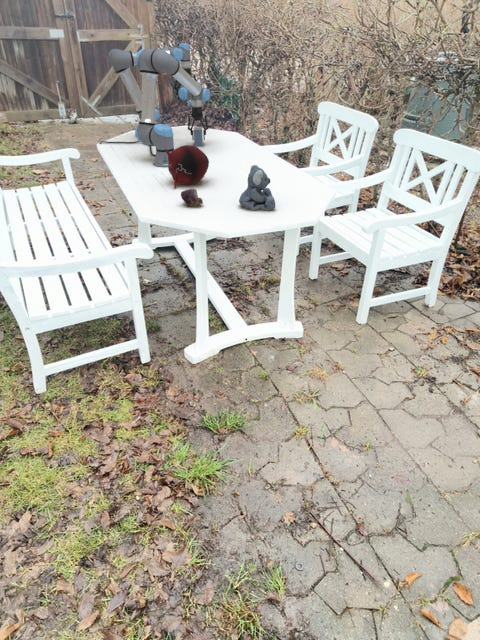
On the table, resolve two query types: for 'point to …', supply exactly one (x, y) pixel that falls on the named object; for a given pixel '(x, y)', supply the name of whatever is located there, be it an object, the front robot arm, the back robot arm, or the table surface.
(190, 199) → the rock
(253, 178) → the koala plush
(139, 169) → the table surface
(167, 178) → the table surface
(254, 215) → the table surface
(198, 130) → the block
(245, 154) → the table surface
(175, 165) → the dark red rounded piece
